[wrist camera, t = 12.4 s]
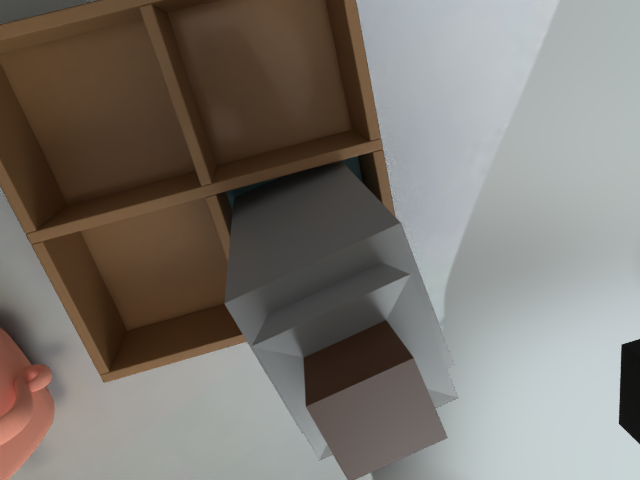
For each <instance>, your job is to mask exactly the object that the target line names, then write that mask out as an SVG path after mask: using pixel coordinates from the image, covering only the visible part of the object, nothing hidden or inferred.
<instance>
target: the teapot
mask: <svg viewBox="0 0 640 480" xmlns="http://www.w3.org/2000/svg"><path fill="white" fill-rule="evenodd" d="M51 380H52V373H51V370H50V368H49V367H47V366H46V365H43V364H36V365H32V364H31V363H30V362H29V360H28V359H27V358H26V356H25V355H24V354H23V352H22V351H21V350H20V348H19V347H18V346H17V345H16V343H15V342H14V341H13V340H12V338H11V337H10V336H9V335H8V334H7V333H6V332H5V331H4V330H3V329H2V328H0V480H8V479H9V478H10V477H11V476H12V475H13V474H14V473H15V472H16V471H17V470H18V469H19V468H20V467H21V466H22V465H23V463H24V462H25V461H26V460H27V459H28V458H29V457H30V455H31V454H32V453H33V452H34V450H35V449H36V448H37V446H38V445H39V443H40V442H41V441H42V439H43V438H44V436H45V435H46V433H47V431H48V430H49V428H50V426H51V424H52V422H53V419H54V401H53V398H52V396H51V394H50V392H49V391H48V389H47V387H46V386H47V385H48V384H49V383H50V382H51Z"/></svg>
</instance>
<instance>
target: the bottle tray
mask: <svg viewBox="0 0 640 480" xmlns="http://www.w3.org/2000/svg"><path fill="white" fill-rule="evenodd" d="M337 161H342V162H343V163H344V164H345V165H346V166H347V167H348V168H349V169H350V171H351V172H352V173H353V174H354V175H355V176H356V177H357V178H358V179H359V180H360V181H361V182H362V183H363V184H364V185H365V186H366V187H367V188H368V189H369V190H370V191H371V192H372V193H373V194H374V195H375V197H376V198H377V199H378V200H379V201H380V202H381V203H382V204H383V205H384V206H385V207H386V208H387V209H388V210H389V211H390V212H391V213H392V214H393V215H394V216H395V212H394V207H393V201H392V196H391V190H390V185H389V179H388V174H387V168H386V163H385V157H384V152H383V146H382V141H381V135H380V130H379V124H378V119H377V113H376V108H375V102H374V97H373V91H372V86H371V80H370V75H369V69H368V64H367V58H366V53H365V47H364V42H363V36H362V31H361V25H360V20H359V14H358V9H357V3H356V0H98V1H94V2H90V3H86V4H82V5H78V6H74V7H70V8H66V9H61V10H57V11H53V12H49V13H45V14H41V15H37V16H33V17H29V18H25V19H21V20H17V21H12V22H8V23H4V24H0V186H1V188H2V190H3V192H4V194H5V196H6V198H7V200H8V202H9V203H10V205H11V207H12V209H13V211H14V213H15V215H16V217H17V219H18V221H19V222H20V224H21V226H22V228H23V230H24V232H25V233H26V236H27V238H28V240H29V242H30V243H31V244H32V247H33V249H34V251H35V253H36V255H37V257H38V259H39V260H40V262H41V264H42V266H43V268H44V270H45V272H46V274H47V276H48V278H49V279H50V281H51V283H52V285H53V287H54V289H55V291H56V293H57V295H58V297H59V298H60V300H61V302H62V304H63V306H64V308H65V310H66V312H67V314H68V316H69V317H70V319H71V321H72V323H73V325H74V327H75V329H76V331H77V333H78V335H79V336H80V338H81V340H82V342H83V344H84V346H85V348H86V350H87V352H88V354H89V355H90V357H91V359H92V361H93V363H94V365H95V367H96V369H97V371H98V373H99V374H100V376H101V378H102V380H103V382H108V381H112V380H115V379H119V378H122V377H126V376H129V375H133V374H136V373H139V372H143V371H146V370H150V369H153V368H157V367H160V366H164V365H167V364H171V363H174V362H178V361H181V360H185V359H188V358H192V357H195V356H199V355H202V354H205V353H209V352H212V351H216V350H219V349H223V348H226V347H230V346H233V345H237V344H240V343H244V342H247V340H246V339H245V337H244V335H243V334H242V332H241V330H240V329H239V327H238V325H237V324H236V322H235V320H234V319H233V317H232V315H231V314H230V312H229V310H228V309H227V307H226V305H225V304H224V302H225V291H226V280H227V269H228V257H229V246H230V235H231V224H232V213H233V201H234V198H235V197H237V196H239V195H242V194H244V193H246V192H248V191H250V190H253V189H255V188H257V187H259V186H261V185H263V184H266V183H268V182H270V181H272V180H274V179H276V178H279V177H281V176H285V175H289V174H293V173H296V172H300V171H304V170H307V169H311V168H315V167H318V166H322V165H326V164H330V163H333V162H337Z"/></svg>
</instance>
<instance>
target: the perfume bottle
mask: <svg viewBox="0 0 640 480" xmlns="http://www.w3.org/2000/svg"><path fill="white" fill-rule="evenodd" d="M224 304H225V305H226V307H227V309H228V310H229V312H230V314H231V315H232V317H233V319H234V320H235V322H236V324H237V325H238V327H239V329H240V330H241V332H242V334H243V335H244V337H245V339H246V340H247V342H248V344H249V345H250V347H251V349H252V350H253V352H254V354H255V355H256V357H257V359H258V360H259V362H260V364H261V365H262V367H263V369H264V370H265V372H266V374H267V375H268V377H269V379H270V380H271V382H272V384H273V385H274V387H275V389H276V390H277V392H278V394H279V395H280V397H281V399H282V401H283V402H284V404H285V406H286V407H287V409H288V411H289V412H290V414H291V416H292V417H293V419H294V421H295V422H296V424H297V426H298V427H299V429H300V431H301V432H302V434H304V436H305V437H306V439H307V441H308V442H309V444H310V446H311V447H312V449H313V451H314V452H315V454H316V456H317V457H318V459H319V461H320V460H322V459H324V458H326V457H329V456H331V455H334V457H335V459H336V460H337V462H338V464H339V466H340V467H341V469H342V471H343V472H344V474H345V476H346V478H347V479H348V480H355V479H357V478H359V477H362V476H364V475H366V474H368V473H371V472H373V471H375V470H377V469H379V468H382V467H384V466H386V465H388V464H391V463H393V462H395V461H397V460H400V459H402V458H404V457H406V456H408V455H411V454H413V453H415V452H417V451H420V450H422V449H424V448H426V447H428V446H430V445H433V444H435V443H437V442H440V441H442V440H444V439H446V438H447V435H446V433H445V430H444V428H443V426H442V423H441V421H440V418H439V416H438V414H437V411H436V409H435V408H437V407H440V406H442V405H444V404H446V403H448V402H451V401H453V400H455V399H457V398H458V395H457V392H456V390H455V387H454V385H453V382H452V380H451V377H450V374H449V372H448V368H450V367H452V366H454V362H453V359H452V357H451V354H450V351H449V349H448V346H447V343H446V341H445V338H444V336H443V333H442V330H441V328H440V325H439V322H438V320H437V317H436V314H435V312H434V309H433V307H432V304H431V301H430V299H429V296H428V293H427V291H426V288H425V285H424V283H423V280H422V277H421V275H420V272H419V270H418V267H417V264H416V262H415V259H414V256H413V254H412V251H411V248H410V246H409V243H408V241H407V238H406V235H405V233H404V230H403V227H402V225H401V223H400V221H399V220H398V219H397V218H396V217H395V216H394V215H393V214H392V213H391V212H390V211H389V210H388V209H387V208H386V207H385V206H384V205H383V204H382V203H381V202H380V201H379V200H378V199H377V198H376V197H375V195H374V194H373V193H372V192H371V191H370V190H369V189H368V188H367V187H366V186H365V185H364V184H363V183H362V182H361V181H360V180H359V179H358V178H357V177H356V176H355V175H354V174H353V173H352V172H351V171H350V169H349V168H348V167H347V166H346V165H345V164H344V163H343V162H342V161H337V162H333V163H330V164H326V165H322V166H318V167H315V168H311V169H307V170H304V171H300V172H296V173H293V174H289V175H285V176H281V177H279V178H276V179H274V180H272V181H270V182H268V183H266V184H263V185H261V186H259V187H257V188H255V189H253V190H250V191H248V192H246V193H244V194H242V195H239V196H237V197H235V198H234V201H233V213H232V224H231V235H230V246H229V257H228V269H227V280H226V291H225V302H224Z"/></svg>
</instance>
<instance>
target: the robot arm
mask: <svg viewBox="0 0 640 480" xmlns="http://www.w3.org/2000/svg"><path fill="white" fill-rule="evenodd" d="M619 409H620V410H619V424H620V425H621V426H622V427H623V428H624V429H625V430H626V431H627V432H628V433H629V434H630V435H631V436H632V437H633V438H634V439H635V440H636V441H637V442H638V443H639V444H640V339H639V340H635V341H632V342H629V343H625V344H623V345H622V351H621V378H620V408H619Z"/></svg>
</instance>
